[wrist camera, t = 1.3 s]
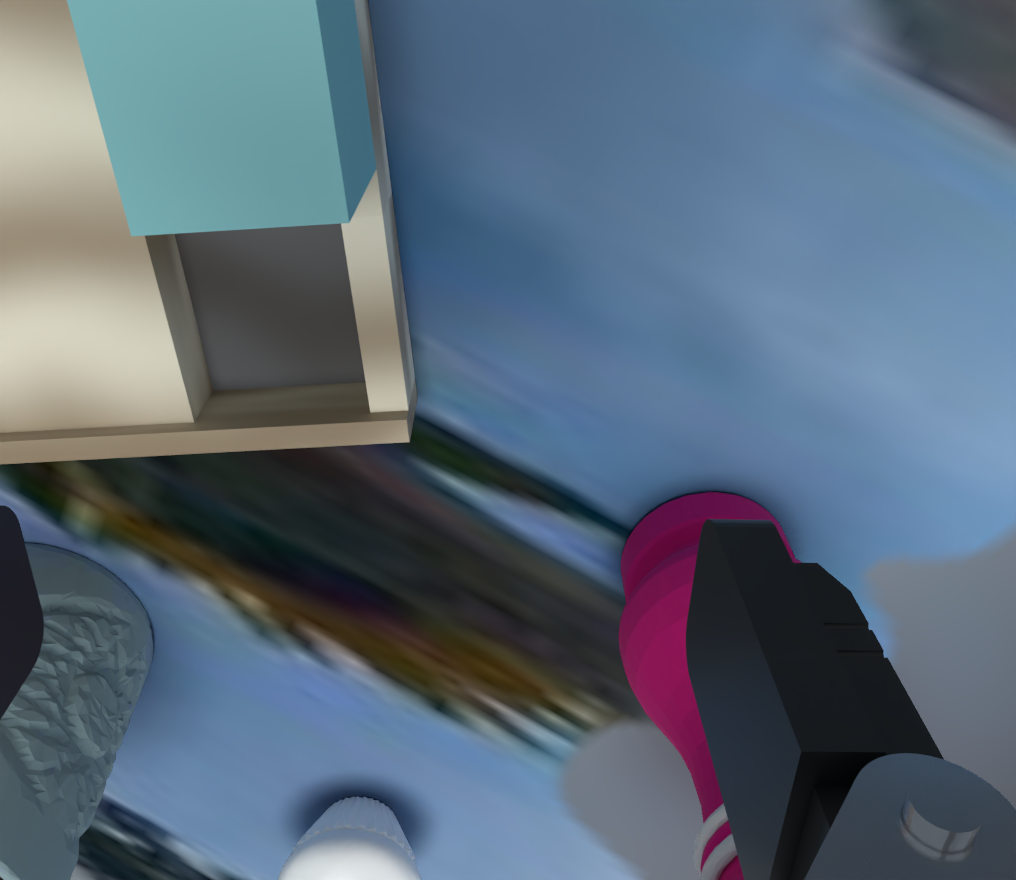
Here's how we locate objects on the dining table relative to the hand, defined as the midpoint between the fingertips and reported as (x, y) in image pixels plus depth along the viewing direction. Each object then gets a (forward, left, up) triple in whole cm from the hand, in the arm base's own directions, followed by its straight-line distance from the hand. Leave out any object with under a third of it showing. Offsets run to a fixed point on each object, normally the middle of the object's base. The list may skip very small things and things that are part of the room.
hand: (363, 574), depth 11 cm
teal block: (-3, -4, -17) cm, 18 cm away
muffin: (+29, -7, -19) cm, 36 cm away
